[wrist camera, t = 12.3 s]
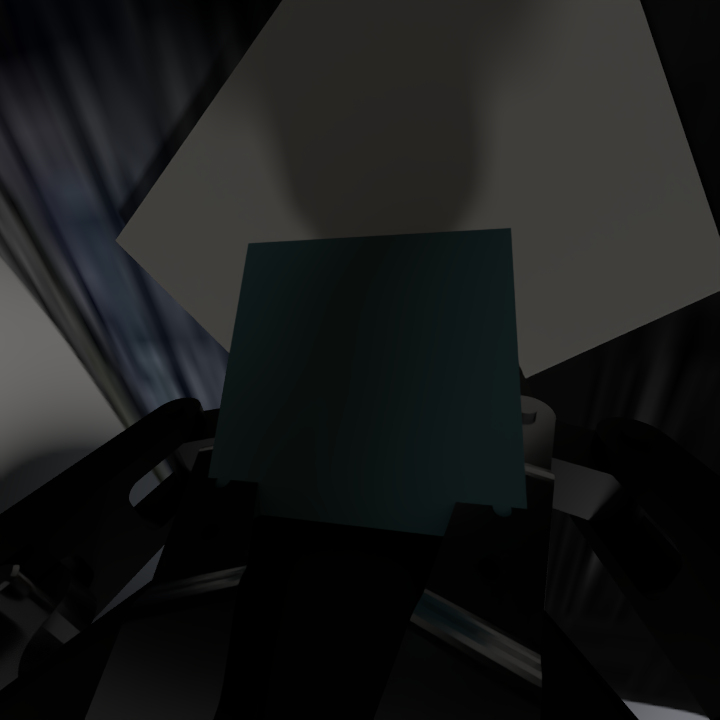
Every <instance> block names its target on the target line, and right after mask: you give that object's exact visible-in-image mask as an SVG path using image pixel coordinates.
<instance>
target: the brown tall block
mask: <svg viewBox="0 0 720 720" xmlns="http://www.w3.org/2000/svg"><path fill="white" fill-rule="evenodd" d="M208 478H217V484H216V487H218V488H221V487H224V486H226V485H227V484H228V483H229V482H230V480H238V481H248V482H258V487H259V499H260V511H261V515H267V516H276V517H284V518H293V519H301V520H309V521H318V522H326V523H335V524H343V525H351V526H360V527H368V528H377V529H385V530H394V531H402V532H410V533H419V534H427V535H436V536H444V534H445V531H446V528H447V526H448V523H449V520H450V517H451V514H452V512H453V509H454V506H455V503H456V502H462V503H472V504H483V505H493V510H494V512H495V513H496V514H498V515H499V516H502V517H508V516H510V515H511V507H513V508H523V509H527V499H526V482H525V464H524V447H523V429H522V411H521V394H520V376H519V359H518V341H517V324H516V306H515V288H514V271H513V253H512V236H511V228H501V229H484V230H467V231H449V232H432V233H415V234H398V235H381V236H364V237H346V238H329V239H312V240H295V241H278V242H261V243H248V248H247V254H246V260H245V266H244V272H243V277H242V283H241V289H240V295H239V301H238V306H237V312H236V318H235V324H234V330H233V335H232V341H231V347H230V353H229V359H228V364H227V370H226V376H225V382H224V388H223V393H222V399H221V405H220V411H219V417H218V422H217V428H216V434H215V440H214V446H213V451H212V457H211V463H210V469H209V475H208Z"/></svg>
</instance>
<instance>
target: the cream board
mask: <svg viewBox="0 0 720 720" xmlns="http://www.w3.org/2000/svg"><path fill="white" fill-rule="evenodd" d="M501 228H511V236H512V253H513V271H514V288H515V306H516V324H517V341H518V359H519V365H520V366H519V367H521V370H522V372H523V375H524V376H525V378H527V377H529V376H531V375H534V374H536V373H538V372H540V371H543V370H545V369H547V368H549V367H551V366H554V365H556V364H558V363H560V362H563V361H565V360H567V359H569V358H571V357H574V356H576V355H578V354H580V353H582V352H585V351H587V350H589V349H591V348H594V347H596V346H598V345H600V344H602V343H605V342H607V341H609V340H611V339H614V338H616V337H618V336H620V335H622V334H625V333H627V332H629V331H631V330H634V329H636V328H638V327H640V326H642V325H645V324H647V323H649V322H651V321H654V320H656V319H658V318H660V317H662V316H665V315H667V314H669V313H671V312H673V311H676V310H678V309H680V308H682V307H685V306H687V305H689V304H691V303H693V302H696V301H698V300H700V299H702V298H705V297H707V296H709V295H711V294H713V293H716V292H718V291H720V237H719V234H718V231H717V228H716V225H715V222H714V219H713V216H712V213H711V210H710V207H709V204H708V201H707V198H706V195H705V192H704V189H703V186H702V183H701V180H700V177H699V174H698V172H697V169H696V166H695V163H694V160H693V157H692V154H691V151H690V148H689V145H688V142H687V139H686V136H685V133H684V130H683V127H682V124H681V121H680V118H679V115H678V112H677V109H676V106H675V103H674V100H673V97H672V94H671V91H670V88H669V85H668V82H667V79H666V76H665V74H664V71H663V68H662V65H661V62H660V59H659V56H658V53H657V50H656V47H655V44H654V41H653V38H652V35H651V32H650V29H649V26H648V23H647V20H646V17H645V14H644V11H643V8H642V5H641V2H640V0H282V1H281V3H280V4H279V6H278V7H277V9H276V10H275V12H274V13H273V14H272V16H271V17H270V19H269V20H268V22H267V23H266V25H265V26H264V27H263V29H262V30H261V32H260V33H259V35H258V36H257V37H256V39H255V40H254V42H253V43H252V45H251V46H250V48H249V49H248V50H247V52H246V53H245V55H244V56H243V58H242V59H241V61H240V62H239V63H238V65H237V66H236V68H235V69H234V71H233V72H232V73H231V75H230V76H229V78H228V79H227V81H226V82H225V84H224V85H223V86H222V88H221V89H220V91H219V92H218V94H217V95H216V97H215V98H214V99H213V101H212V102H211V104H210V105H209V107H208V108H207V110H206V111H205V112H204V114H203V115H202V117H201V118H200V120H199V121H198V122H197V124H196V125H195V127H194V128H193V130H192V131H191V133H190V134H189V135H188V137H187V138H186V140H185V141H184V143H183V144H182V146H181V147H180V148H179V150H178V151H177V153H176V154H175V156H174V157H173V158H172V160H171V161H170V163H169V164H168V166H167V167H166V169H165V170H164V171H163V173H162V174H161V176H160V177H159V179H158V180H157V182H156V183H155V184H154V186H153V187H152V189H151V190H150V192H149V193H148V194H147V196H146V197H145V199H144V200H143V202H142V203H141V205H140V206H139V207H138V209H137V210H136V212H135V213H134V215H133V216H132V218H131V219H130V220H129V222H128V223H127V225H126V226H125V228H124V229H123V230H122V232H121V233H120V235H119V236H118V238H117V239H116V242H117V243H118V244H119V245H120V246H121V247H122V248H123V249H124V250H125V251H126V252H127V253H128V254H129V255H130V256H131V257H132V258H133V259H134V260H135V261H136V262H138V263H139V264H140V265H141V266H142V267H143V268H144V269H145V270H146V271H147V272H148V273H149V274H150V275H151V276H152V277H153V278H154V279H155V280H156V281H157V282H158V283H159V284H160V285H161V286H162V287H163V288H164V289H165V290H166V291H167V292H168V293H169V294H170V295H171V296H172V297H173V298H174V299H175V300H176V301H177V302H178V303H179V304H180V305H181V306H182V307H183V308H184V309H185V310H186V311H187V312H188V313H189V314H190V315H191V316H192V317H193V318H194V319H195V320H196V321H197V322H198V323H199V324H200V325H201V326H202V327H203V328H204V329H205V330H206V331H207V332H208V333H209V334H210V335H211V336H212V337H213V338H215V339H216V340H217V341H218V342H219V343H220V344H221V345H222V346H223V347H224V348H225V349H226V350H227V351H228V352H229V353H230V347H231V341H232V335H233V330H234V324H235V318H236V312H237V306H238V301H239V295H240V289H241V283H242V277H243V272H244V266H245V260H246V254H247V248H248V243H261V242H278V241H295V240H312V239H329V238H346V237H364V236H381V235H398V234H415V233H432V232H449V231H467V230H484V229H501Z"/></svg>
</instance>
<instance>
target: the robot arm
mask: <svg viewBox="0 0 720 720" xmlns="http://www.w3.org/2000/svg"><path fill="white" fill-rule="evenodd" d="M519 366H520V365H519ZM519 376H520V394H521V411H522V429H523V447H524V464H525V482H526V499H527V509H523V508H513V507H511V515H510V516H508V517H502V516H499V515H498V514H496V513H495V512H494V510H493V505H483V504H472V503H462V502H456V503H455V506H454V509H453V512H452V514H451V517H450V520H449V523H448V526H447V528H446V531H445V534H444V536H436V535H427V534H419V533H410V532H402V531H394V530H385V529H377V528H368V527H360V526H351V525H343V524H335V523H326V522H318V521H309V520H301V519H293V518H284V517H276V516H267V515H261V511H260V499H259V487H258V482H248V481H238V480H230V482H229V483H228V484H227V485H226V486H224V487H221V488H218V487H216V484H217V478H208V475H209V469H210V463H211V457H212V451H213V446H214V440H215V434H216V428H217V422H218V417H219V411H220V408H219V409H213V410H207V411H203V408H202V406H201V403H200V402H199V400H197V399H195V398H180V399H176V400H173V401H170V402H168V403H166V404H164V405H162V406H160V407H159V408H157V409H156V410H154V411H153V412H151V413H150V414H148V415H147V416H145V417H144V418H142V419H141V420H139V421H138V422H136V423H135V424H133V425H132V426H130V427H129V428H127V429H126V430H125V431H123V432H121V433H120V434H119V435H117V436H116V437H114V438H113V439H111V440H110V441H108V442H107V443H105V444H104V445H102V446H101V447H99V448H98V449H96V450H95V451H93V452H92V453H90V454H89V455H87V456H86V457H84V458H83V459H82V460H80V461H78V462H77V463H75V464H74V465H73V466H71V467H70V468H68V469H67V470H65V471H64V472H62V473H61V474H59V475H58V476H56V477H55V478H53V479H52V480H50V481H49V482H47V483H46V484H44V485H43V486H41V487H40V488H38V489H37V490H35V491H34V492H33V493H31V494H30V495H28V496H27V497H25V498H24V499H22V500H21V501H19V502H18V503H16V504H15V505H13V506H12V507H10V508H9V509H8V510H6V511H4V512H3V513H1V514H0V720H638V718H637V717H636V716H635V715H634V714H633V712H632V711H631V710H630V709H629V708H628V707H627V706H626V705H625V703H624V702H623V701H622V700H621V698H620V697H619V696H618V695H617V694H616V693H615V692H614V690H613V689H612V688H611V687H610V686H609V685H608V683H607V682H606V681H605V680H604V679H603V678H602V676H601V675H600V674H599V673H598V672H597V671H596V669H595V668H594V667H593V666H592V665H591V664H590V662H589V661H588V660H587V659H586V658H585V657H584V655H583V654H582V653H581V652H580V651H579V650H578V648H577V647H576V646H575V645H574V644H573V643H572V641H571V640H570V639H569V638H568V637H567V636H566V634H565V633H564V632H563V631H562V630H561V629H560V627H559V626H558V625H557V624H556V623H555V622H554V621H553V619H552V618H551V617H550V616H549V615H548V614H547V612H546V611H545V610H544V606H545V594H546V581H547V569H548V556H549V544H550V531H551V519H552V508H555V509H558V510H561V511H564V512H566V513H569V515H570V517H571V519H572V520H573V522H574V523H575V525H576V526H577V528H578V529H579V531H580V532H581V534H582V535H583V536H584V538H585V539H586V541H587V542H588V544H589V545H590V547H591V548H592V549H593V551H594V552H595V554H596V555H597V557H598V558H599V560H600V561H601V563H602V564H603V565H604V567H605V568H606V570H607V571H608V573H609V574H610V576H611V577H612V578H613V580H614V581H615V583H616V584H617V586H618V587H619V589H620V590H621V592H622V593H623V594H624V596H625V597H626V599H627V600H628V602H629V603H630V605H631V606H632V607H633V609H634V610H635V612H636V613H637V615H638V616H639V618H640V619H641V621H642V622H643V623H644V625H645V626H646V628H647V629H648V631H649V632H650V634H651V635H652V636H653V638H654V639H655V641H656V642H657V644H658V645H659V647H660V648H661V649H662V651H663V652H664V654H665V655H666V657H667V658H668V660H669V661H670V663H671V664H672V665H673V667H674V668H675V670H676V671H677V673H678V674H679V676H680V677H681V678H682V680H683V681H684V683H685V684H686V686H687V687H688V689H689V690H690V692H691V693H692V694H693V696H694V697H695V699H696V700H697V702H698V703H699V705H700V706H701V707H702V709H703V710H704V712H705V713H706V715H707V716H708V718H709V719H710V720H720V476H718V475H717V474H716V473H714V472H713V471H712V470H711V469H709V468H708V467H707V466H706V465H704V464H703V463H702V462H700V461H699V460H698V459H697V458H695V457H694V456H693V455H691V454H690V453H689V452H688V451H686V450H685V449H684V448H683V447H681V446H680V445H679V444H677V443H676V442H675V441H674V440H672V439H671V438H670V437H668V436H667V435H666V434H664V433H663V432H662V431H660V430H658V429H657V428H655V427H653V426H651V425H649V424H646V423H643V422H640V421H637V420H633V419H629V418H621V417H612V418H606V419H604V420H602V421H600V422H599V423H598V424H597V427H596V430H595V431H594V430H590V429H586V428H582V427H578V426H574V425H570V424H566V423H563V422H561V421H558V420H556V417H555V414H554V412H553V410H552V409H551V408H550V407H549V406H548V405H546V404H545V403H543V402H542V401H539V400H537V399H535V398H534V396H533V394H532V392H531V389H530V387H529V385H528V383H527V381H526V378H525V376H524V375H523V372H522V370H521V367H519ZM166 457H167V459H168V461H169V463H170V465H171V466H172V468H173V470H174V472H173V473H172V474H171V475H170V476H169V477H167V478H166V479H165V480H164V481H163V482H162V483H161V484H159V485H158V486H157V487H156V488H155V489H154V490H153V491H152V492H150V493H149V494H148V495H147V496H146V497H145V498H144V499H142V500H141V501H140V502H139V503H138V504H137V505H136V506H135V507H133V506H132V505H131V503H130V501H129V494H130V491H131V489H132V487H133V486H134V484H135V483H136V482H137V481H138V480H140V479H141V478H142V477H143V476H144V475H146V474H147V473H148V472H149V471H151V470H152V469H153V468H154V467H155V466H157V465H158V464H159V463H160V462H161V461H163V460H164V459H165V458H166ZM645 512H646V513H647V514H648V515H649V516H650V517H651V518H652V519H653V520H654V521H655V522H656V523H657V524H658V525H659V527H660V528H661V529H662V530H663V531H664V532H665V533H666V534H667V535H668V536H669V537H670V539H671V540H672V541H673V542H674V544H675V545H676V547H677V549H678V551H679V553H680V554H679V553H678V552H677V551H676V550H675V549H674V547H673V546H672V545H671V544H670V543H669V542H668V541H667V540H666V539H665V538H664V536H663V535H662V534H661V533H660V532H659V531H658V530H657V529H656V528H655V527H654V525H653V524H652V523H651V522H650V521H649V520H648V519H647V518H646V517H645V516H644V514H645ZM164 544H165V545H164ZM163 545H164V548H163V551H162V554H161V556H160V559H159V562H158V565H157V567H156V570H155V573H154V576H153V579H152V581H150V582H149V583H147V584H146V585H145V586H143V587H142V588H141V589H139V590H138V591H136V592H135V593H134V594H132V595H131V596H129V597H128V598H127V599H125V600H124V601H123V602H121V603H120V604H118V605H117V606H116V607H114V608H113V609H112V610H110V611H109V612H107V613H106V614H105V615H103V616H102V617H101V618H99V619H98V620H96V621H95V622H94V623H92V621H93V619H94V618H95V617H96V616H97V615H98V614H99V613H100V612H101V611H102V610H103V609H104V608H105V607H106V606H107V605H108V604H109V602H110V601H111V600H112V599H113V598H114V597H115V596H116V595H117V594H118V593H119V592H120V591H121V590H122V589H123V588H124V587H125V586H126V584H127V583H128V582H129V581H130V580H131V579H132V578H133V577H134V576H135V575H136V574H137V573H138V572H139V571H140V570H141V569H142V568H143V567H144V566H145V565H146V563H147V562H148V561H149V560H150V559H151V558H152V557H153V556H154V555H155V554H156V553H157V552H158V551H159V550H160V549H161V548H162V546H163ZM91 623H92V624H91Z"/></svg>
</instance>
